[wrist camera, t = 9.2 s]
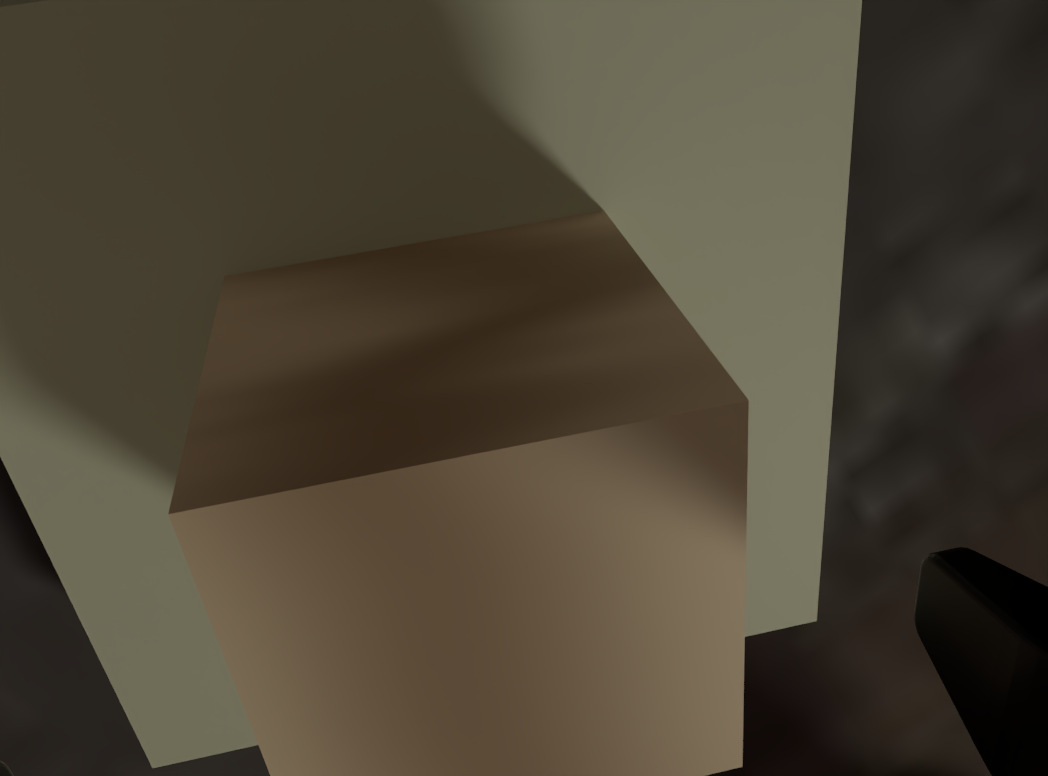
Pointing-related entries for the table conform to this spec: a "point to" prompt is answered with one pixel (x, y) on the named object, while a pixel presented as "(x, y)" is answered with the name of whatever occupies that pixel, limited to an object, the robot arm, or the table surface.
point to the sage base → (388, 242)
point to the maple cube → (472, 512)
